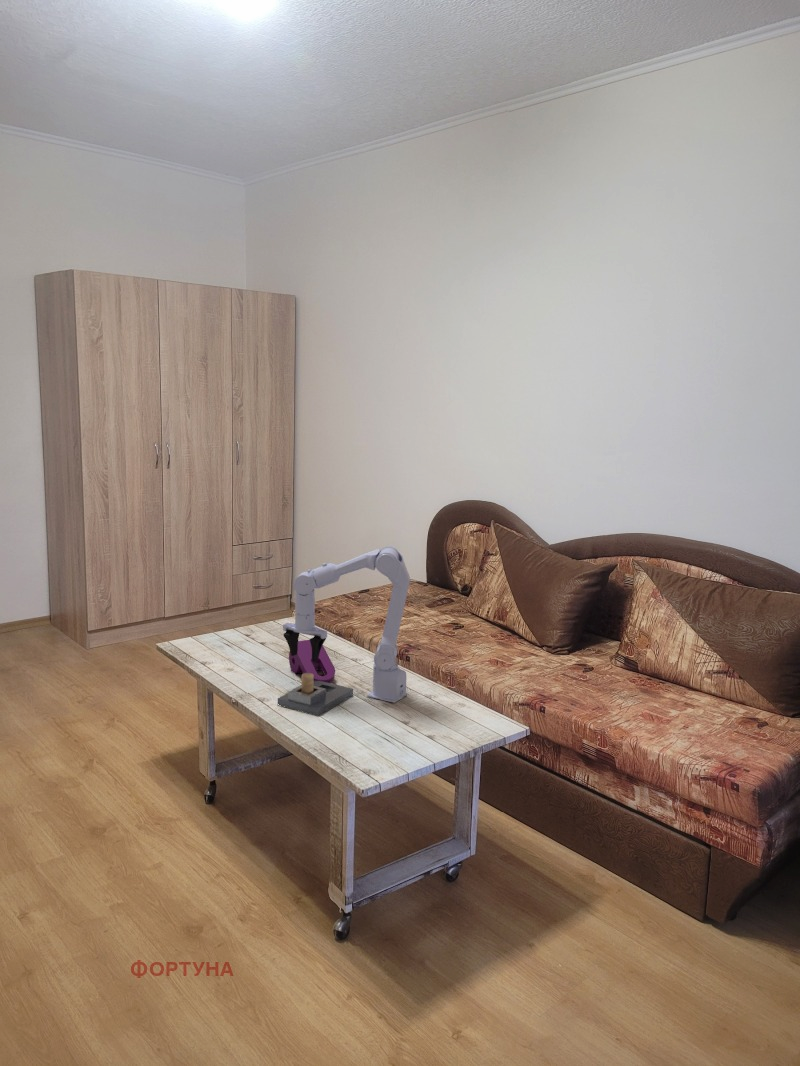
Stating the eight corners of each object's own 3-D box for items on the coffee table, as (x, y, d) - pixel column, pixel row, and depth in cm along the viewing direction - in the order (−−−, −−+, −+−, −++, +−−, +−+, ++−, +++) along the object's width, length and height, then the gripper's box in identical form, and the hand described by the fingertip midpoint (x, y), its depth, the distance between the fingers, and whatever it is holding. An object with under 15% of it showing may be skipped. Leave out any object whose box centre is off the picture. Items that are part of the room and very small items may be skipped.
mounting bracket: (334, 697, 250) (314, 657, 262) (339, 677, 245) (319, 638, 258) (306, 702, 245) (287, 661, 258) (311, 682, 241) (291, 641, 253)
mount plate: (353, 695, 237) (353, 680, 236) (318, 715, 221) (318, 700, 221) (313, 685, 244) (314, 671, 243) (277, 705, 228) (277, 690, 227)
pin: (314, 703, 230) (315, 673, 228) (311, 707, 227) (311, 677, 225) (303, 702, 231) (303, 672, 229) (299, 706, 227) (299, 676, 226)
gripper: (333, 613, 235) (332, 658, 237) (292, 606, 242) (292, 649, 244) (319, 619, 229) (319, 665, 231) (278, 611, 236) (278, 655, 238)
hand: (304, 657), depth 237 cm, fingers open, 7 cm apart
